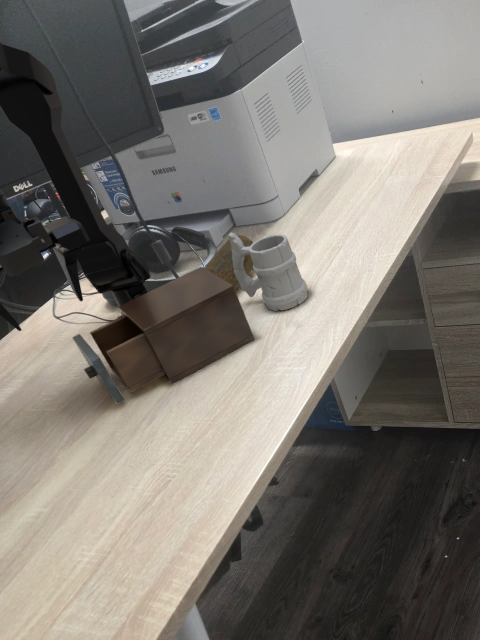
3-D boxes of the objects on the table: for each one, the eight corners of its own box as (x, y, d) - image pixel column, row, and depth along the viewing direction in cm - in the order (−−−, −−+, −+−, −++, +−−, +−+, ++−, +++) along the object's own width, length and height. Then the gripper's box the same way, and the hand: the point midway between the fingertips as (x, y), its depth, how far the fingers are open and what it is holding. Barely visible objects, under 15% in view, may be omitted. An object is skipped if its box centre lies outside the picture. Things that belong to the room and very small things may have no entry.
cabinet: (171, 384, 97) (143, 330, 91) (145, 357, 106) (117, 306, 100) (254, 339, 102) (233, 285, 95) (222, 317, 110) (201, 266, 104)
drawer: (110, 408, 94) (83, 365, 90) (89, 381, 102) (64, 341, 97) (198, 361, 99) (178, 317, 94) (173, 338, 106) (152, 298, 102)
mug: (299, 310, 105) (274, 238, 97) (237, 314, 110) (208, 245, 102) (316, 287, 110) (294, 216, 102) (256, 292, 115) (230, 224, 107)
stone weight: (232, 268, 125) (218, 234, 121) (264, 264, 123) (252, 229, 119) (201, 308, 115) (185, 272, 111) (236, 304, 113) (221, 267, 108)
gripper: (-87, 245, 73) (-2, 364, 83) (67, 180, 79) (129, 299, 89) (-96, 229, 80) (-17, 339, 91) (45, 171, 86) (104, 281, 97)
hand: (51, 315), depth 92 cm, fingers open, 9 cm apart
